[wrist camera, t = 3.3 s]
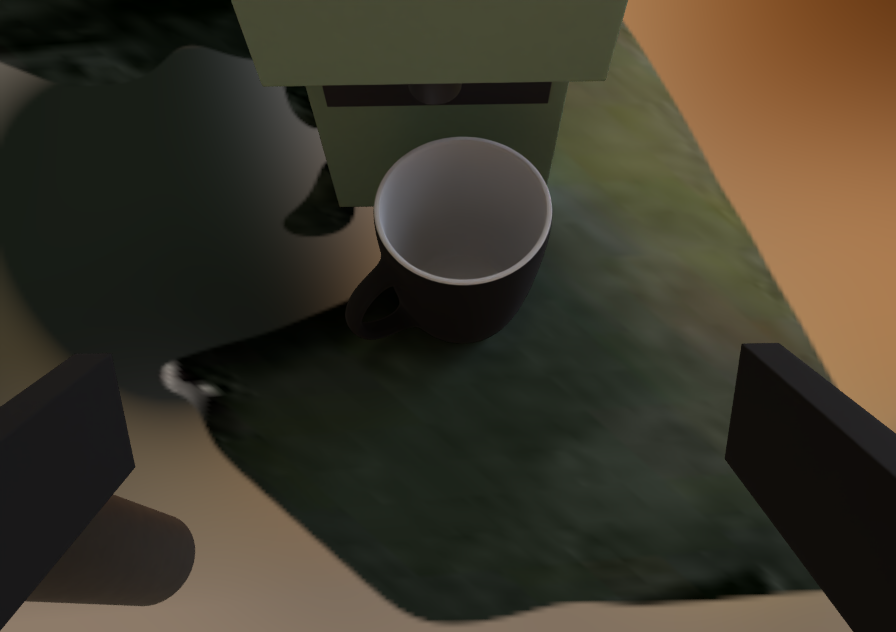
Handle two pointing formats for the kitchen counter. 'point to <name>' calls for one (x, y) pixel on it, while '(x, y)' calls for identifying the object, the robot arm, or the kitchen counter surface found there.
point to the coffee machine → (429, 73)
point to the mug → (455, 240)
